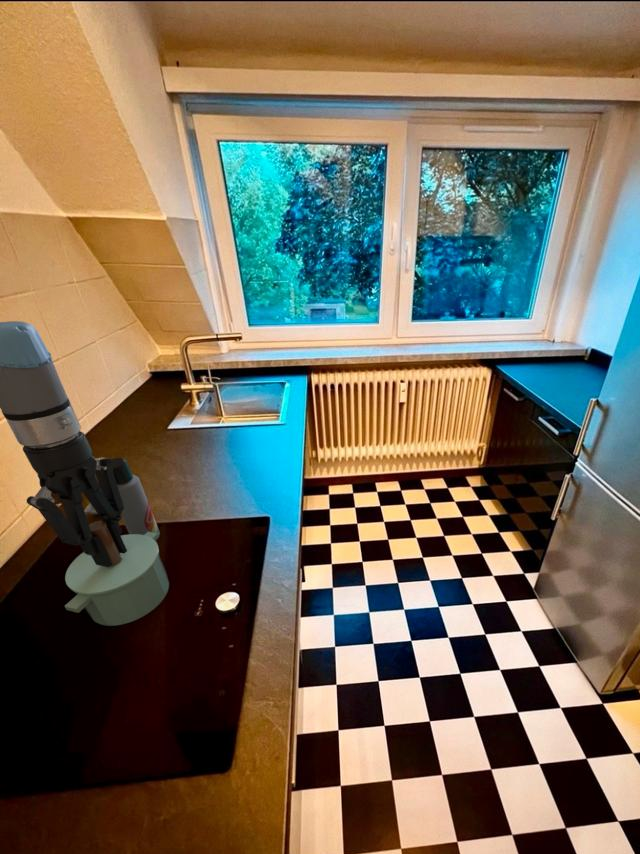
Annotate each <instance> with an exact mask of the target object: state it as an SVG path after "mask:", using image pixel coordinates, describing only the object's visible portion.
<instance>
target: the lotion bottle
mask: <svg viewBox="0 0 640 854" xmlns="http://www.w3.org/2000/svg"><path fill="white" fill-rule="evenodd" d="M111 459H112V460H113V473H114V477H115V480H116V483H117V486H118V489H119V493H120V496H121V499H122V502H123V505H124V510H123V511H122V512H120V513H119V514H120V516H121V519H122V521H123V524H124V525H125V529H126V530H127V533H128V535H129V534H140V535H145V534H146V533H147V532H152V533H158V535H159V536H160V535H161V533H160V528H159V527H158V524H157V522H156V519H155V516H154V513H153V510H152V508H151V506H150V504H149V501H148V497H147V496H146V493H145V490H144V487H143V485H142V482H141V480H140V478H139V476H138V475H135V474H133V473H132V470H131V468H130V466H129V464H128V463H129V462H128V461H127V459H125V458H123V457H119V456H118V457H115V458H111Z"/></svg>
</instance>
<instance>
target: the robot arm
mask: <svg viewBox="0 0 640 854" xmlns="http://www.w3.org/2000/svg"><path fill="white" fill-rule="evenodd" d="M63 385H64V384H63V383H62V381H61V378H60V376H59V374H58V371H57V369H56V367H55V364H54V361H53V357H52V355H51V352H50V351H49V350H48V348H47V346H46V345H45V343H44V341H43V339H42V337H41V335H40V334H39V331H38V330H37V329H36V327H35V326H34V325H32V324H30V323H29V322H25V321H20V320H9V321H0V410H1V413H2V415H3V417H4V418H5V420H6V421H7V424H8V426H9V427H10V429H11V431H12V433H13V435H14V437H15V439H16V441H17V443H18V444H19V445H21V446H22V451H23V453H24V455H25V457H26V459H27V460H28V462H29V464H30V466H31V468H32V469H33V470H34V471H35V473H36V474H37V475H38V478H39V483H38V484H39V486H40V489H39V490H38V491H37V493H35V495H34V496H33V495H30V496H28V497H26V504H28V505H29V506H31V507H33V508H34V509H36V510H38V512H39V514H40V515H41V516H42V517H43V519H44V520H45V521H46V522H47V524H48V525H49V526H50V528H51V529H52V530H53V532H54V533H55V534H56V535H57V537H58V538H59V540H60V541H61V542H62V543H63V544H67V545H72V546H80V548H81V549H82V551H83V552H84V553H85V554H86V555H91V556H92V558H93V560H94V562H95V564H96V565H100V566H104V567H110V566H111V565H112V563H111V561H110V559H109V557H108V555H107V553H106V551H105V549H104V547H103V545H102V543H101V541H100V539H99V537H98V536H97V535H92V533H91V530H90V527H89V525H90V524H89V521H88V518H87V515H85V512H84V510H85V509H84V506H83V503H82V502H84V498H83V495H84V496H85V498H86V499H87V500H88V502H89V503H91V505H92V506H93V508H94V509H95V510H96V512H97V513H98V514H97V515H98V517H99V518H100V519H101V520H100V521H105V522H106V524H107V526H108V528H109V530H110V533H111V535H112V537H113V539H114V541H115V543H116V545H117V547H118V549H119V552H120V553H123V554H124V553H125V552H127V549H126V547H125V545H124V543H123V540H122V538H121V536H122V533H123V532H122V531H123V530H122V527H121V525H120V523H119V522H120V521H121V519H122V517H121V514H120V513H119V512H122V511H123V510H124V505H123V502H122V499H121V496H120V493H119V489H118V486H117V483H116V480H115V477H114V473H113V460H112V459H113V458H110V457H103V456H96V457H95V456H93V450H92V448H91V446H90V444H89V441H88V439H87V437H86V434H85V433H84V432H82V431H81V430H82V426H81V424H80V421H79V419H78V417H77V415H76V412H75V410H74V408H73V405H72V404H71V400H70V398H69V397H68V395H67V393H66V390H65V388H64V386H63ZM95 476H96V477H95ZM100 489H101V490H100ZM52 494H54V495H56V497H57V500H58V502H59V503H61V505H62V507H63V511H64V512H63V511H62V510H61V508H60V507H59V506H58V505H57V504H56V503H55V502H56V499H54V497H53V496H52ZM119 514H120V515H119Z"/></svg>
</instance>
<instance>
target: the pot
mask: <svg viewBox="0 0 640 854" xmlns="http://www.w3.org/2000/svg"><path fill="white" fill-rule="evenodd" d="M145 536H148V537H151V538H152V539H154V540H155V541H156V542H157V540H158V539H159V538H160V534H159V535H158V533H152V532H147V533H146V534H145ZM169 588H170V581H169V578H168V574H167V571H166V569H165V566H164V563H163V561H162V559H161V557H160V554H158V558H157V560H156V562H155V563H154V565H153V566H152V567H151V568H150V569H149V570H148V571H147V572H146V573H145V574H144V575H143V576H141V577H140V578H139V579H137V580H136V581H134V582H132V583H130V584H129V585H127V586H124V587H122V588H120V589H117V590H114V591H111V592H108V593H103V594H97V595H84V594H79V593H76V592H74V593H75V595H74V597H73V598H72V599H70V600H69V601H68V602H67V603H66V604H64V608H65V610H66V611H69V612H73V613H80V612H81V611H83V610H85V612H86V613H87V614H88V615H89V617H90V618H91V620H92V621H93V622H94V623H97V624H98V625H101V626H106V627H113V626H114V627H115V626H122V625H125V624H129V623H132V622H135V621H137V620H139V619H141V618H143V617H145V616H146V615H149V613H151V612H152V611H154V610H155V609H156V608H157V607H158V606H159V605H160V604H161V603H162V602H163V600H164V599H165V597H166V596H167V594H168V592H169Z"/></svg>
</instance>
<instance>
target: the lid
mask: <svg viewBox="0 0 640 854" xmlns="http://www.w3.org/2000/svg"><path fill="white" fill-rule="evenodd" d="M89 527H90V530H91V533H92V535H97V536H98V537H99V539H100V541H101V543H102V545H103V547H104V549H105V551H106V553H107V555H108V557H109V559H110V561H111V563H112V565H111V566H110V567H104V566H100V565H96V564H95V562H94V560H93V558H92V556H91V555H86V554H85V553H84V551H83V552H82V553H80V554H79V555H78V556H77V557H75V559H73V561H72V562H71V563H70V564H69V566H68V568H67V569H66V572H65V576H64V581H65V584H66V586H67V587H68V589H69V590H71V592H74V593H75V592H76V593H79V594H84V595H97V594H103V593H108V592H111V591H114V590H117V589H120V588H122V587H124V586H127V585H129V584H130V583H132V582H134V581H136V580H137V579H139V578H140V577H141V576H143V575H144V574H145V573H146V572H147V571H148V570H149V569H150V568H151V567H152V566H153V565H154V563H155V562H156V560H157V558H158V554H159V553H160V548H159V545H158V543H157V540H156V541H155V540H154V539H152V538H151V537H148V536H145V535H140V534H129V533H128V534H123V535H122V534H121V535H120V536H121V538H122V540H123V543H124V545H125V547H126V549H127V552H125V553H124V554H123V553H120V552H119V549H118V547H117V545H116V543H115V541H114V539H113V537H112V535H111V533H110V530H109V528H108V526H107V524H106V522H105V521H104V520H102V521H101V520H96V521H94V522H92V523H90V524H89ZM159 555H160V554H159ZM76 593H75V594H76Z"/></svg>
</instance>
